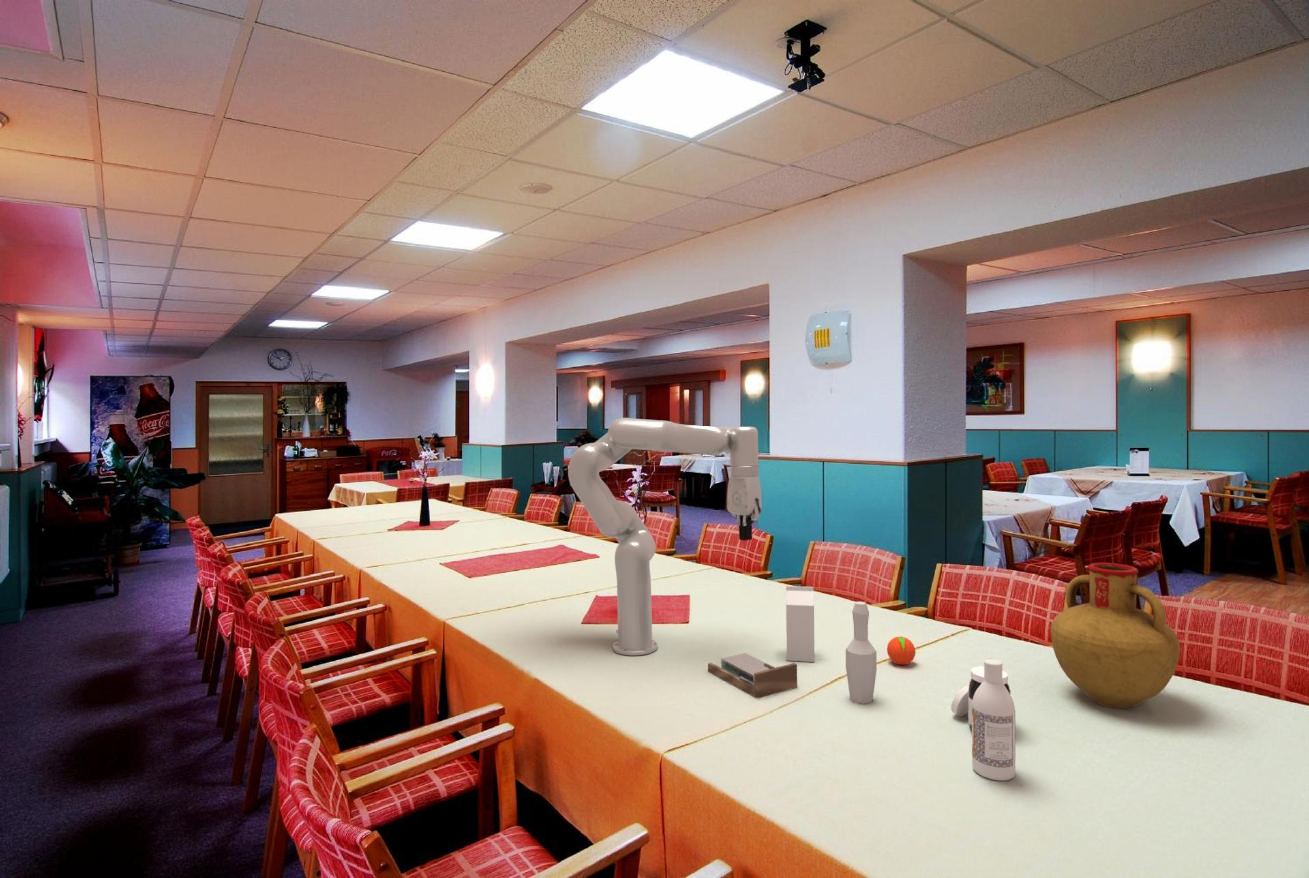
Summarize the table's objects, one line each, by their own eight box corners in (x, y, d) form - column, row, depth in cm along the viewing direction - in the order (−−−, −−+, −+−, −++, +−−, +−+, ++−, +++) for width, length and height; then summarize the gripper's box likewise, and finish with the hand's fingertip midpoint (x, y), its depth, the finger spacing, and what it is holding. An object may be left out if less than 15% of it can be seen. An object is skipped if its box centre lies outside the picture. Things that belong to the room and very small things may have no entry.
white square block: (739, 681, 168) (738, 667, 168) (763, 675, 171) (763, 662, 171) (758, 692, 161) (757, 677, 161) (783, 686, 165) (783, 671, 165)
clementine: (918, 670, 172) (918, 642, 172) (889, 669, 173) (889, 641, 173) (912, 659, 180) (912, 633, 179) (885, 658, 181) (885, 631, 181)
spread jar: (1008, 743, 134) (1008, 684, 133) (946, 730, 140) (945, 673, 139) (1013, 719, 144) (1013, 664, 143) (955, 708, 150) (955, 655, 149)
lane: (707, 670, 174) (707, 649, 174) (745, 661, 180) (745, 640, 180) (757, 698, 157) (756, 673, 157) (797, 687, 163) (796, 663, 163)
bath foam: (978, 758, 128) (977, 652, 127) (1019, 770, 123) (1019, 660, 123) (967, 773, 123) (966, 662, 122) (1009, 786, 118) (1009, 671, 118)
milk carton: (814, 662, 179) (813, 590, 178) (786, 661, 180) (786, 589, 180) (813, 653, 186) (813, 583, 185) (787, 651, 187) (786, 582, 187)
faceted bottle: (861, 707, 151) (860, 608, 150) (840, 697, 157) (840, 601, 156) (882, 701, 154) (881, 604, 153) (861, 691, 160) (860, 597, 159)
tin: (721, 672, 174) (721, 658, 174) (745, 666, 178) (745, 653, 178) (738, 681, 168) (738, 667, 168) (763, 675, 171) (763, 661, 171)
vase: (1026, 690, 158) (1026, 561, 158) (1095, 673, 168) (1095, 552, 167) (1133, 733, 137) (1134, 584, 136) (1205, 711, 146) (1206, 571, 145)
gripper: (717, 471, 190) (718, 537, 190) (750, 474, 177) (751, 545, 177) (739, 469, 194) (740, 534, 194) (773, 473, 181) (774, 542, 181)
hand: (745, 539), depth 186 cm, fingers closed
